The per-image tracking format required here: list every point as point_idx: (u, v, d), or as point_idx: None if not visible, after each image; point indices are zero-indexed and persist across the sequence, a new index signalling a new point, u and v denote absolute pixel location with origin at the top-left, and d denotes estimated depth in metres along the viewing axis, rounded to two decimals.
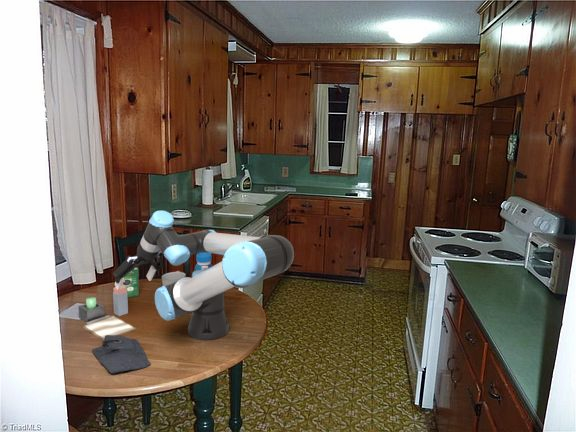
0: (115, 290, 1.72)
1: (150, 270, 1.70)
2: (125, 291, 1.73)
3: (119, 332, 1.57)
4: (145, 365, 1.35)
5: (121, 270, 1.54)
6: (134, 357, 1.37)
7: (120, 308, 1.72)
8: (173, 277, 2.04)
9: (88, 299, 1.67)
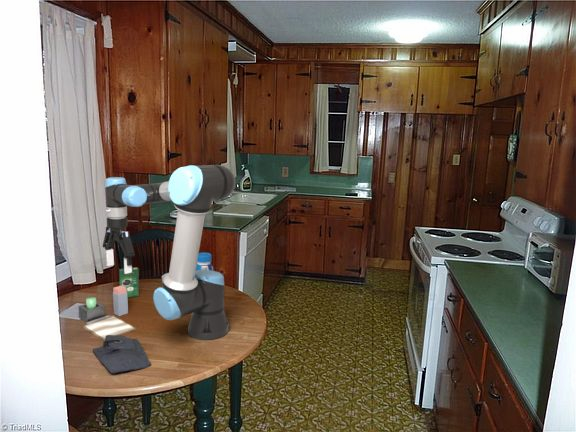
0: (115, 290, 1.72)
1: (108, 255, 1.74)
2: (125, 291, 1.73)
3: (119, 332, 1.57)
4: (145, 365, 1.35)
5: (131, 246, 1.64)
6: (135, 357, 1.37)
7: (120, 308, 1.72)
8: None
9: (88, 299, 1.67)
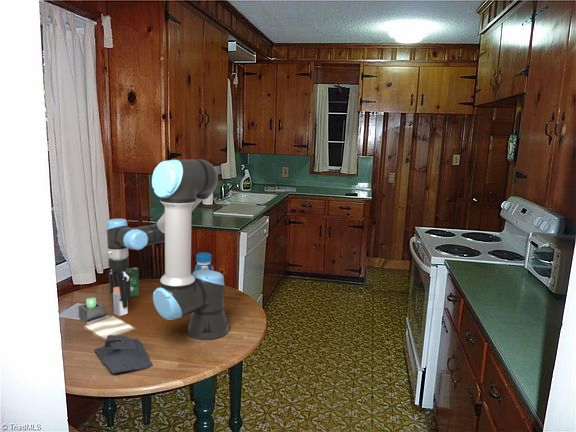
0: (115, 290, 1.72)
1: None
2: None
3: (119, 332, 1.57)
4: (147, 365, 1.35)
5: (129, 289, 1.69)
6: (136, 357, 1.37)
7: None
8: None
9: (88, 299, 1.67)
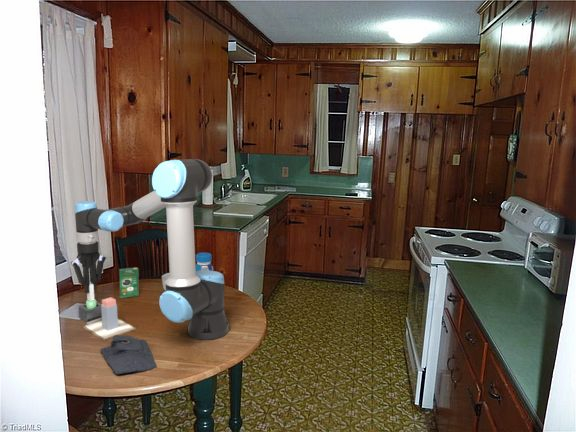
0: (103, 302, 1.58)
1: None
2: (114, 303, 1.59)
3: (119, 332, 1.57)
4: (151, 367, 1.34)
5: None
6: (140, 358, 1.36)
7: (109, 323, 1.58)
8: None
9: (88, 301, 1.67)
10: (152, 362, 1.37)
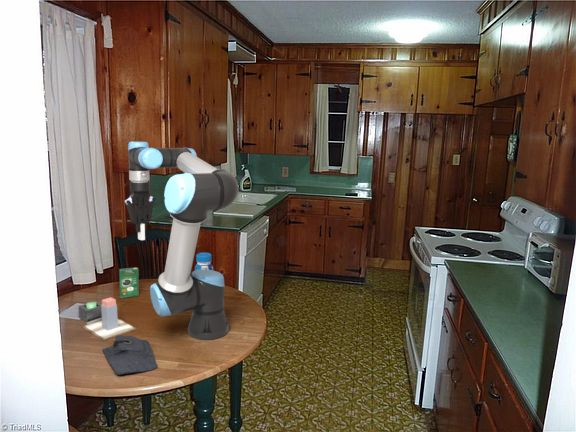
0: (103, 302, 1.58)
1: None
2: (114, 303, 1.59)
3: (119, 332, 1.57)
4: (152, 368, 1.34)
5: None
6: (142, 359, 1.36)
7: (109, 323, 1.58)
8: None
9: (88, 303, 1.68)
10: (153, 363, 1.37)
